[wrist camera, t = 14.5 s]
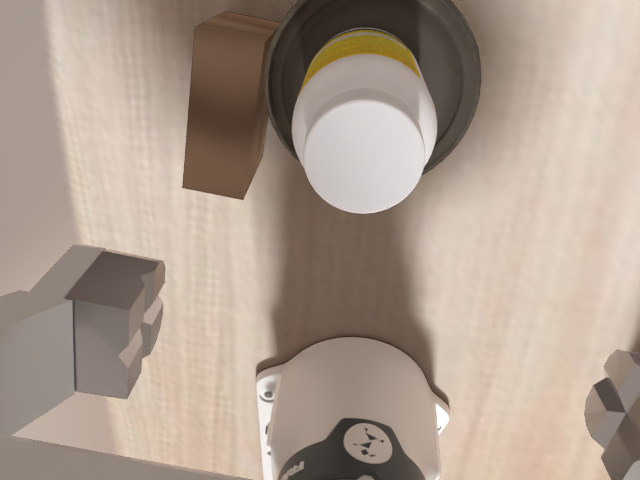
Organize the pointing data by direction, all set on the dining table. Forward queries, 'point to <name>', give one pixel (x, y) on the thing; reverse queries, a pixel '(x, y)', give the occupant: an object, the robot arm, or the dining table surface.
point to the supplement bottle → (364, 121)
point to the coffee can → (404, 23)
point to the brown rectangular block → (227, 104)
